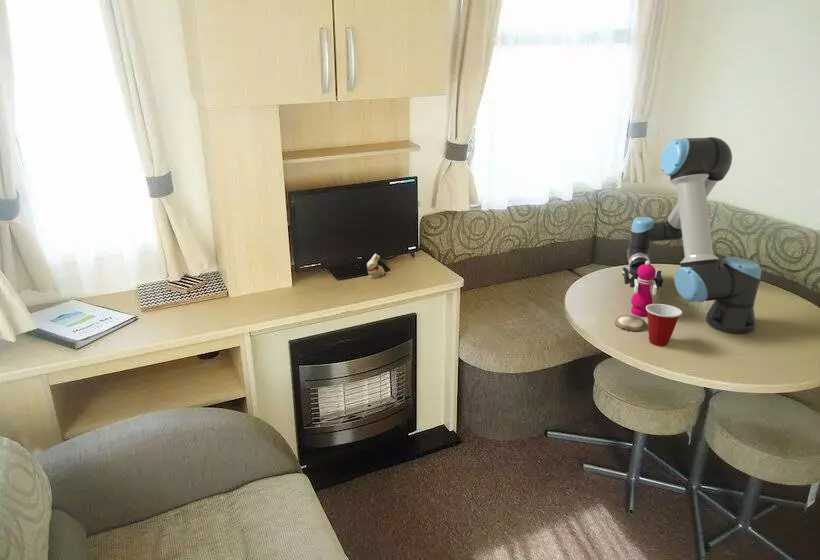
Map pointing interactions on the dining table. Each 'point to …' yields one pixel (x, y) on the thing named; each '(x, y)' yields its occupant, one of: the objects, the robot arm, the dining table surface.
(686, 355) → the dining table surface
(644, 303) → the pepper mill
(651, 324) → the plastic cup
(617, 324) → the brown cream oval disc
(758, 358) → the dining table surface
